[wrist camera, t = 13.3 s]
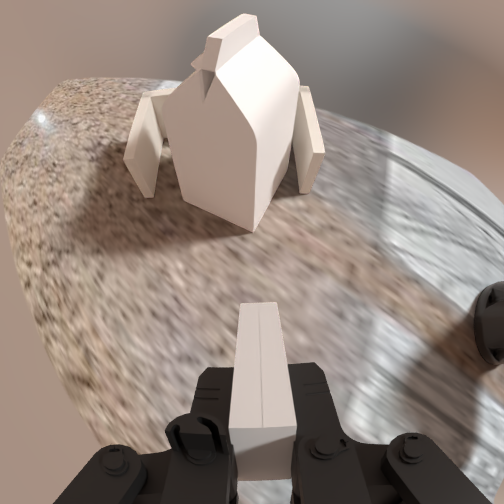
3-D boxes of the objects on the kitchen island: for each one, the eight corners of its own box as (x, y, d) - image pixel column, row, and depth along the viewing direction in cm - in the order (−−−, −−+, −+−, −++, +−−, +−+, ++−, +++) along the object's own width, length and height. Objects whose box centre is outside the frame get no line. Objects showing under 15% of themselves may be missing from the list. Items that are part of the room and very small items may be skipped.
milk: (253, 232, 40) (267, 73, 15) (183, 200, 41) (133, 48, 17) (287, 170, 43) (321, 20, 19) (223, 144, 45) (213, -1, 20)
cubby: (298, 128, 46) (308, 86, 37) (309, 193, 42) (325, 153, 33) (156, 133, 45) (143, 92, 36) (144, 198, 41) (122, 159, 32)
